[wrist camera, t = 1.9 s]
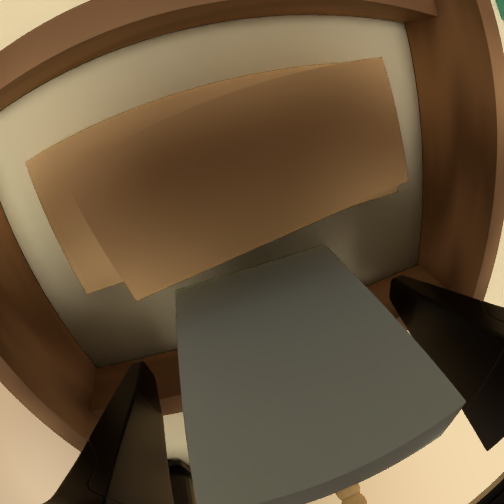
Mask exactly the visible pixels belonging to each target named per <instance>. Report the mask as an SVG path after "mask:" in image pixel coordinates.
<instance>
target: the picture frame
mask: <svg viewBox="0 0 504 504" xmlns="http://www.w3.org/2000/svg"><path fill="white" fill-rule="evenodd" d="M302 14H318V15H344V16H357V17H367V18H376V19H383V20H390V21H396V22H402V23H405V26H406V30H407V34H408V39H409V43H410V48H411V53H412V58H413V64H414V70H415V76H416V83H417V90H418V98H419V107H420V117H421V130H422V148H423V205H422V224H421V237H420V248H419V258H418V265H416V266H413V267H411V268H409V269H407V270H404V271H402V272H400V273H397V274H395V275H393V276H390V277H388V278H386V279H383V280H381V281H378V282H376V283H373V284H371V285H369V286H366V287H367V288H368V289H369V290H370V291H371V292H372V293H373V295H374V296H375V297H376V298H377V299H378V300H379V301H380V302H381V303H382V304H383V305H384V306H385V307H386V308H387V310H388V311H389V312H390V313H391V314H392V315H393V316H394V317H395V318H396V319H397V320H398V322H399V323H400V324H401V325H402V326H403V327H404V328H405V329H406V330H407V328H406V326H405V325H404V323H403V321H402V319H401V318H400V316H399V314H398V313H397V311H396V309H395V308H394V306H393V304H392V303H391V301H390V298H389V292H390V282H391V279H392V278H393V277H396V276H398V275H404V276H407V277H411V278H414V279H417V280H420V281H423V282H426V283H429V284H433V285H436V286H439V287H442V288H445V289H448V290H451V291H454V292H457V293H460V294H463V295H466V296H469V297H472V298H475V299H478V300H480V301H483V300H484V297H485V294H486V291H487V288H488V284H489V281H490V278H491V274H492V270H493V267H494V263H495V259H496V255H497V250H498V246H499V241H500V237H501V231H502V226H503V220H504V53H503V48H502V43H501V38H500V34H499V30H498V26H497V22H496V18H495V14H494V11H493V8H492V4H491V1H490V0H90V1H88V2H86V3H83V4H81V5H79V6H77V7H75V8H72V9H70V10H68V11H66V12H64V13H62V14H60V15H58V16H56V17H54V18H53V19H51V20H49V21H47V22H45V23H43V24H42V25H40V26H38V27H37V28H35V29H33V30H31V31H30V32H28V33H27V34H25V35H23V36H22V37H20V38H19V39H17V40H16V41H14V42H13V43H11V44H10V45H8V46H7V47H6V48H4V49H3V50H1V51H0V111H1V110H3V109H4V108H5V107H7V106H8V105H10V104H11V103H13V102H14V101H16V100H17V99H19V98H21V97H22V96H24V95H25V94H27V93H29V92H30V91H32V90H33V89H35V88H37V87H39V86H40V85H42V84H44V83H46V82H47V81H49V80H51V79H53V78H55V77H57V76H59V75H61V74H62V73H64V72H66V71H68V70H71V69H73V68H75V67H77V66H79V65H81V64H83V63H85V62H88V61H90V60H92V59H95V58H97V57H99V56H102V55H104V54H107V53H109V52H112V51H114V50H117V49H120V48H122V47H125V46H128V45H131V44H134V43H137V42H140V41H143V40H146V39H149V38H153V37H156V36H160V35H163V34H167V33H171V32H174V31H178V30H182V29H187V28H191V27H196V26H201V25H206V24H211V23H217V22H223V21H229V20H236V19H244V18H252V17H263V16H276V15H302ZM137 361H144V362H145V363H146V364H147V366H148V367H149V369H150V370H151V371H152V373H153V374H154V376H155V379H156V383H157V389H158V394H159V400H160V405H161V410H162V415H169V414H174V413H179V412H183V406H182V396H181V386H180V374H179V360H178V349H176V350H173V351H169V352H165V353H161V354H157V355H153V356H149V357H145V358H140V359H136V360H132V361H127V362H123V363H118V364H114V365H109V366H104V367H100V368H96V367H95V366H94V364H93V363H92V362H91V361H90V359H89V358H88V357H87V355H86V354H85V353H84V351H83V350H82V349H81V347H80V346H79V345H78V343H77V342H76V341H75V339H74V338H73V337H72V335H71V334H70V332H69V331H68V329H67V328H66V327H65V325H64V324H63V322H62V321H61V319H60V318H59V316H58V315H57V313H56V312H55V310H54V308H53V307H52V305H51V304H50V302H49V300H48V299H47V297H46V295H45V294H44V292H43V290H42V289H41V287H40V285H39V284H38V282H37V280H36V278H35V276H34V275H33V273H32V271H31V269H30V267H29V265H28V263H27V262H26V260H25V258H24V256H23V254H22V252H21V250H20V248H19V246H18V243H17V241H16V239H15V237H14V235H13V233H12V230H11V228H10V226H9V224H8V221H7V219H6V216H5V214H4V211H3V209H2V206H1V204H0V382H1V383H2V384H3V385H4V386H5V387H6V388H7V389H8V390H9V391H10V392H11V393H12V394H13V395H14V396H15V397H16V398H17V399H18V400H19V401H20V402H21V403H22V404H23V405H24V406H25V407H26V408H27V409H28V410H29V411H31V412H32V413H33V414H34V415H35V416H36V417H37V418H39V420H41V421H42V422H43V423H44V424H45V425H46V426H48V427H49V428H50V429H51V430H53V431H54V432H55V433H56V434H58V435H59V436H60V437H62V438H63V439H64V440H65V441H67V442H68V443H70V444H71V445H72V446H74V447H75V448H76V449H78V450H79V451H80V452H82V450H83V448H84V446H85V444H86V442H87V441H89V437H90V435H91V433H92V432H93V430H94V428H95V426H96V424H97V423H98V421H99V419H100V417H101V415H102V414H103V412H104V410H105V408H106V406H107V405H108V403H109V401H110V399H111V398H112V396H113V394H114V393H115V391H116V389H117V387H118V386H119V384H120V382H121V380H122V379H123V377H124V375H125V374H126V372H127V370H128V369H129V367H130V365H131V364H132V363H133V362H137Z"/></svg>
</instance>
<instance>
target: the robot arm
mask: <svg viewBox="0 0 504 504" xmlns="http://www.w3.org/2000/svg"><path fill="white" fill-rule="evenodd" d="M389 298H390V301H391V303H392V304H393V306H394V308H395V309H396V311H397V313H398V314H399V316H400V318H401V319H402V321H403V323H404V325H405V326H406V328H407V330H408V331H409V333H410V334H411V336H412V337H413V338H414V340H415V341H416V342H417V343H418V344H419V345H420V346H421V348H422V349H423V350H424V351H425V352H426V353H427V354H428V356H429V357H430V358H431V359H432V360H433V362H434V363H435V364H436V365H437V366H438V367H439V369H440V370H441V371H442V372H443V373H444V375H445V376H446V377H447V378H448V379H449V381H450V382H451V383H452V384H453V386H454V387H455V388H456V389H457V391H458V392H459V393H460V394H461V396H462V397H463V398H464V399H465V401H466V403H465V404H464V406H463V407H462V408H461V409H462V410H463V412H464V414H465V415H466V417H467V418H468V420H469V422H470V424H471V425H472V427H473V429H474V430H475V432H476V434H477V435H478V437H479V439H480V440H481V442H482V444H483V446H484V448H485V449H486V450H487V451H488V450H489V449H491V448H492V447H493V446H494V445H495V444H497V443H498V442H499V441H500V440H501V439H502V438H503V437H504V308H503V307H500V306H497V305H493V304H490V303H487V302H484V301H480V300H478V299H475V298H472V297H469V296H466V295H463V294H460V293H457V292H454V291H451V290H448V289H445V288H442V287H439V286H436V285H433V284H429V283H426V282H423V281H420V280H417V279H414V278H411V277H407V276H404V275H398V276H396V277H393V278H392V279H391V282H390V292H389ZM43 504H197V502H196V497H195V492H194V486H193V480H192V474H191V468H189V467H188V466H187V465H185V464H184V463H183V462H181V461H177V460H174V461H167V452H166V443H165V433H164V423H163V415H162V410H161V405H160V400H159V394H158V389H157V383H156V379H155V376H154V374H153V373H152V371H151V370H150V369H149V367H148V366H147V364H146V363H145V362H144V361H137V362H133V363H132V364H131V365H130V367H129V369H128V370H127V372H126V374H125V375H124V377H123V379H122V380H121V382H120V384H119V386H118V387H117V389H116V391H115V393H114V394H113V396H112V398H111V399H110V401H109V403H108V405H107V406H106V408H105V410H104V412H103V414H102V415H101V417H100V419H99V421H98V423H97V424H96V426H95V428H94V430H93V432H92V433H91V435H90V437H89V441H87V442H86V444H85V446H84V448H83V450H82V452H81V454H80V455H79V457H78V459H77V460H76V462H75V464H74V465H73V467H72V468H71V470H70V472H69V473H68V474H67V476H66V477H65V479H64V481H63V482H62V484H61V485H60V487H59V488H58V490H57V491H56V493H55V494H54V495H53V496H52V497H51V499H49V500H48V501H47V502H45V503H43ZM469 504H504V472H503V474H501V475H500V476H499V477H498V478H497V479H496V480H495V481H494V482H493V483H492V484H491V485H490V486H489V487H488V488H486V489H485V490H484V491H483V492H482V493H481V494H480V495H478V496H477V497H476V498H475V499H474V500H473V501H471V502H470V503H469Z"/></svg>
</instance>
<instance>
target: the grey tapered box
mask: <svg viewBox="0 0 504 504" xmlns="http://www.w3.org/2000/svg"><path fill="white" fill-rule="evenodd" d="M175 297H176V325H177V345H178V360H179V374H180V386H181V396H182V406H183V416H184V424H185V432H186V440H187V448H188V455H189V461H190V468H191V474H192V480H193V486H194V492H195V497H196V502H197V504H306V503H309V502H312V501H315V500H317V499H320V498H323V497H326V496H328V495H331V494H333V493H336V492H338V491H341V490H343V489H346V488H348V487H350V486H353V485H355V484H357V483H359V482H361V481H364V480H365V479H368V478H370V477H372V476H374V475H376V474H378V473H380V472H381V471H384V470H386V469H387V468H389V467H391V466H393V465H395V464H396V463H398V462H400V461H402V460H404V459H405V458H407V457H409V456H410V455H412V454H414V453H415V452H417V451H418V450H420V449H422V448H423V447H425V446H426V445H428V444H429V443H431V442H432V441H434V440H435V439H437V438H438V437H439V436H441V434H442V433H443V432H444V431H445V430H446V428H447V427H448V426H449V425H450V423H451V422H452V421H453V419H454V418H455V417H456V415H457V414H458V413H459V411H460V410H461V408H462V407H463V406H464V404H465V403H466V401H465V399H464V398H463V397H462V396H461V394H460V393H459V392H458V391H457V389H456V388H455V387H454V386H453V384H452V383H451V382H450V381H449V379H448V378H447V377H446V376H445V375H444V373H443V372H442V371H441V370H440V369H439V367H438V366H437V365H436V364H435V363H434V362H433V360H432V359H431V358H430V357H429V356H428V354H427V353H426V352H425V351H424V350H423V349H422V348H421V346H420V345H419V344H418V343H417V342H416V341H415V340H414V338H413V337H412V336H411V335H410V334H409V333H408V332H407V330H406V329H405V328H404V327H403V326H402V325H401V324H400V323H399V322H398V320H397V319H396V318H395V317H394V316H393V315H392V314H391V313H390V312H389V311H388V310H387V308H386V307H385V306H384V305H383V304H382V303H381V302H380V301H379V300H378V299H377V298H376V297H375V296H374V295H373V293H372V292H371V291H370V290H369V289H368V288H367V287H366V286H365V285H364V284H363V283H362V282H361V281H360V280H359V279H358V278H357V277H356V276H355V275H354V274H353V273H352V272H351V271H350V269H349V268H348V267H347V266H346V265H345V264H344V263H343V262H342V261H341V260H340V259H339V258H338V257H337V256H336V255H335V254H334V253H333V252H332V251H331V250H330V249H329V248H328V247H327V246H326V245H325V244H324V245H321V246H318V247H315V248H312V249H309V250H305V251H302V252H299V253H296V254H293V255H290V256H286V257H283V258H280V259H277V260H274V261H270V262H267V263H264V264H261V265H258V266H254V267H251V268H248V269H245V270H241V271H238V272H235V273H232V274H228V275H225V276H222V277H219V278H215V279H212V280H209V281H205V282H202V283H199V284H196V285H192V286H189V287H186V288H182V289H179V290H176V291H175Z"/></svg>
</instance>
